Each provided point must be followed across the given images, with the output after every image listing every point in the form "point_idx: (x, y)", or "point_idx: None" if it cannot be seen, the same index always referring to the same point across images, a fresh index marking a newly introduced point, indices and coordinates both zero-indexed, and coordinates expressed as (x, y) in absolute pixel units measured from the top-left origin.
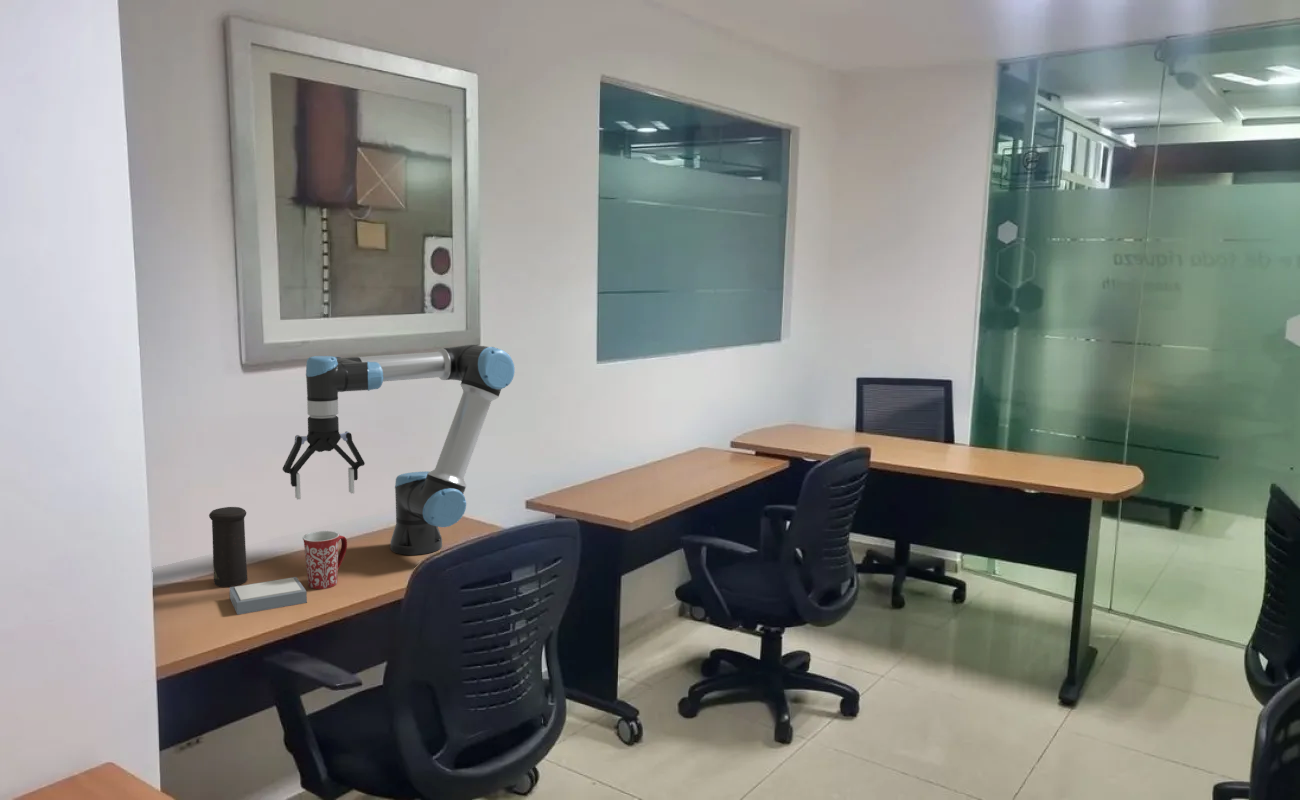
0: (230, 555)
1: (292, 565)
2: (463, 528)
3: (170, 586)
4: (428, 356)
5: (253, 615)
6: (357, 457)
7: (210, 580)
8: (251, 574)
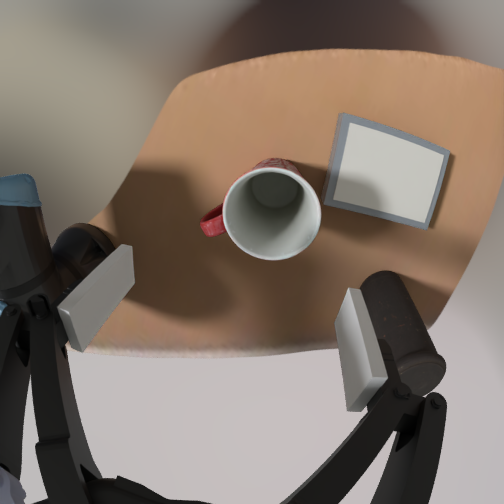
0: (407, 303)
1: (276, 304)
2: None
3: (432, 317)
4: None
5: (425, 126)
6: (4, 345)
7: None
8: None
